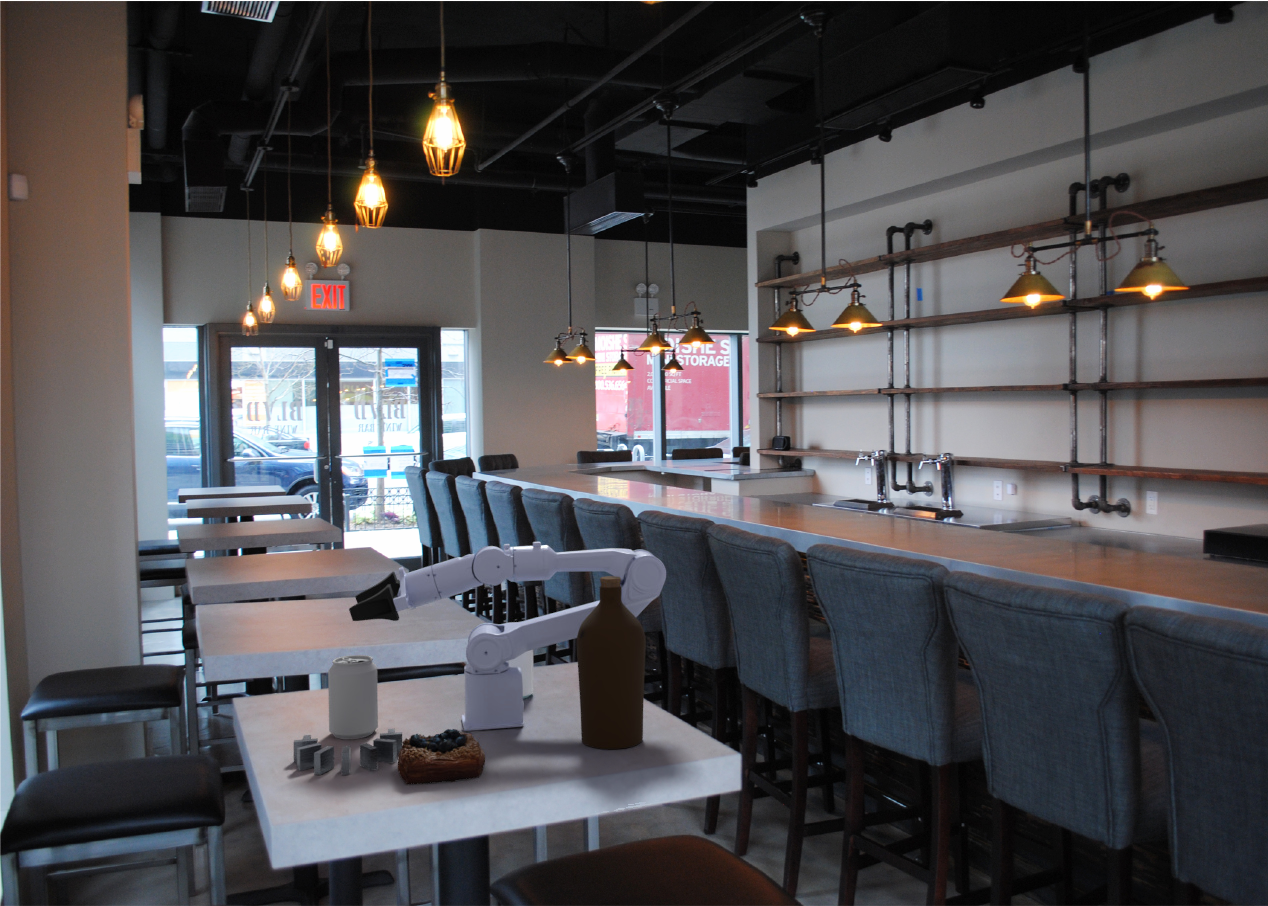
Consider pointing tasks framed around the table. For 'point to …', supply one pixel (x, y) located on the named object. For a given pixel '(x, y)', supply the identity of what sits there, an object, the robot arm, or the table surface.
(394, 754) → the ring collar
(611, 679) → the olive oil
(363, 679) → the can
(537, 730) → the table surface
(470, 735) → the pastry
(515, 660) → the can
